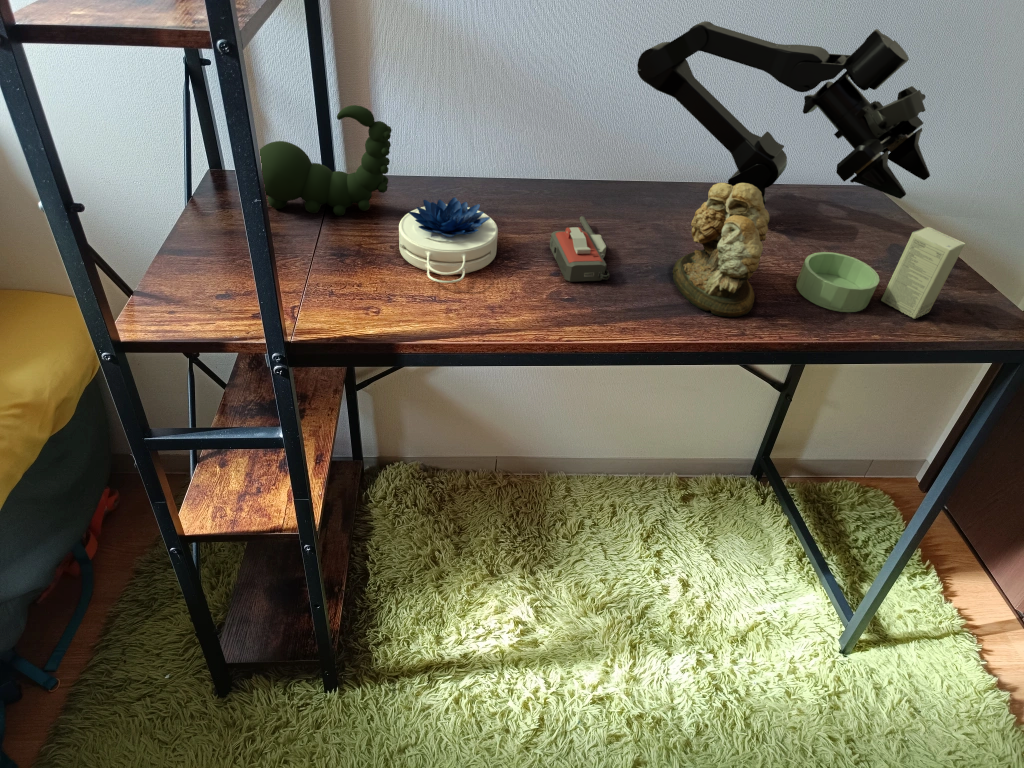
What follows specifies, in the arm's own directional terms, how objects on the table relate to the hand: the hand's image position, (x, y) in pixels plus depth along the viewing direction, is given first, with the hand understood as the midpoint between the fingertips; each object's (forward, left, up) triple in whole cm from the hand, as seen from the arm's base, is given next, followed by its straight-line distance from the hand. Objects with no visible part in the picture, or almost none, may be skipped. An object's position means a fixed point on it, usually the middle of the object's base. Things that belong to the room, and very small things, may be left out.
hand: (915, 187), depth 109 cm
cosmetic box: (+3, -11, -15) cm, 19 cm away
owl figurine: (-27, -18, -15) cm, 35 cm away
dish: (-8, -11, -15) cm, 20 cm away
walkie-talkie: (-49, -17, -15) cm, 54 cm away
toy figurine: (-94, -21, -15) cm, 97 cm away
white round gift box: (-68, -27, -15) cm, 74 cm away
